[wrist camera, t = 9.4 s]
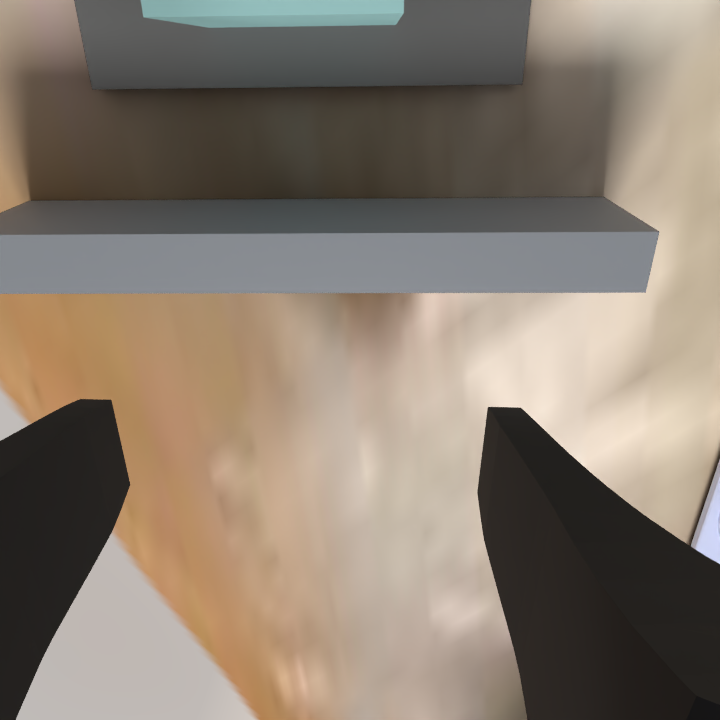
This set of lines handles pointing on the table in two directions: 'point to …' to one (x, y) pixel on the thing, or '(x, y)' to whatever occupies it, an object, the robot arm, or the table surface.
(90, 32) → the mat
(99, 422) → the robot arm
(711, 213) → the table surface
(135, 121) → the table surface
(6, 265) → the panel
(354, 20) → the letter cube
